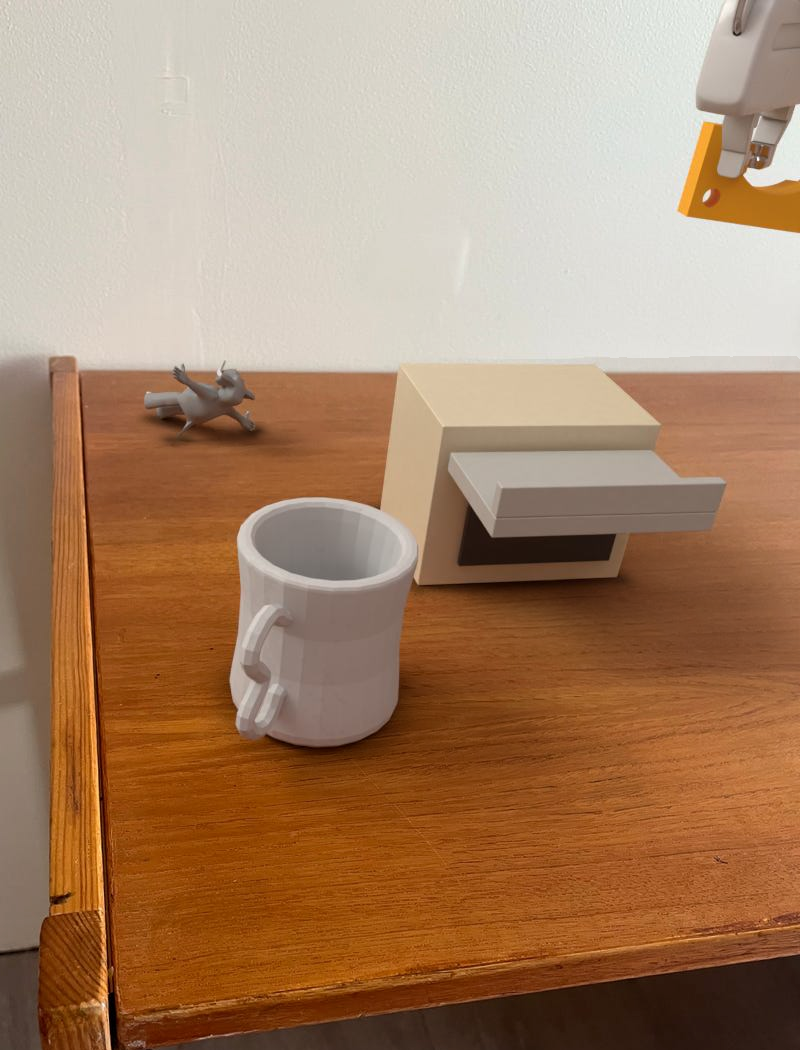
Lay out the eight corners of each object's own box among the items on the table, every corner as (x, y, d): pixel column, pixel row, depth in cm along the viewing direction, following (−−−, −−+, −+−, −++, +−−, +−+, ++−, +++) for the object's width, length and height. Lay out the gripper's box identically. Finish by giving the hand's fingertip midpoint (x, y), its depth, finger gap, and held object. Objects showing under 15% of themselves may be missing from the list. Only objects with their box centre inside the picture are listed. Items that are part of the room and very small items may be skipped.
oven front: (560, 506, 77) (596, 358, 70) (677, 652, 62) (736, 482, 56) (379, 510, 74) (399, 356, 68) (457, 665, 60) (492, 487, 53)
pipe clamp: (813, 228, 84) (844, 141, 81) (835, 238, 81) (869, 148, 77) (670, 207, 84) (696, 119, 80) (686, 216, 80) (714, 124, 76)
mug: (281, 631, 61) (292, 478, 55) (422, 684, 58) (450, 528, 52) (159, 749, 52) (157, 580, 46) (320, 819, 49) (340, 648, 43)
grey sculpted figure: (200, 400, 88) (285, 391, 83) (185, 466, 87) (269, 461, 82) (118, 343, 80) (206, 329, 75) (100, 414, 79) (188, 405, 74)
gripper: (804, -42, 63) (735, 197, 71) (890, -35, 77) (823, 165, 85) (706, -52, 66) (650, 179, 74) (805, -43, 80) (748, 151, 88)
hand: (743, 171), depth 80 cm, fingers closed on pipe clamp, 4 cm apart
